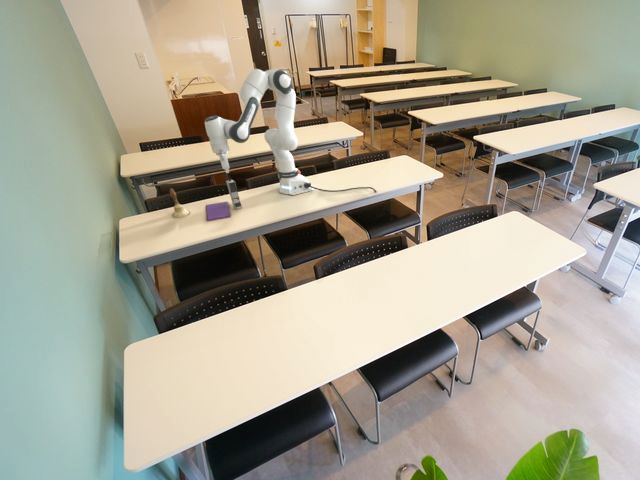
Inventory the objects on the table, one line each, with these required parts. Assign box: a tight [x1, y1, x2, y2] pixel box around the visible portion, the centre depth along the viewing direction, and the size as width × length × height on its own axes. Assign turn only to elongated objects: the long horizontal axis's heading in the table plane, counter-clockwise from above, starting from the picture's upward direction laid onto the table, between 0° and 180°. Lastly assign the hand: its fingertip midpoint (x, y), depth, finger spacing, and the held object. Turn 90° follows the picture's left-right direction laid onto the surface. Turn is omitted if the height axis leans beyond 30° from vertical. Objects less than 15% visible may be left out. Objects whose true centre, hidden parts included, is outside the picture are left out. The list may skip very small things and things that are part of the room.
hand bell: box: [169, 188, 190, 218], centre depth 198 cm, size 8×8×16 cm
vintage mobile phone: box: [225, 173, 243, 210], centre depth 202 cm, size 4×5×25 cm
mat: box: [206, 201, 231, 221], centre depth 206 cm, size 12×22×1 cm, turn 27°
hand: (227, 172), depth 197 cm, fingers closed on vintage mobile phone
